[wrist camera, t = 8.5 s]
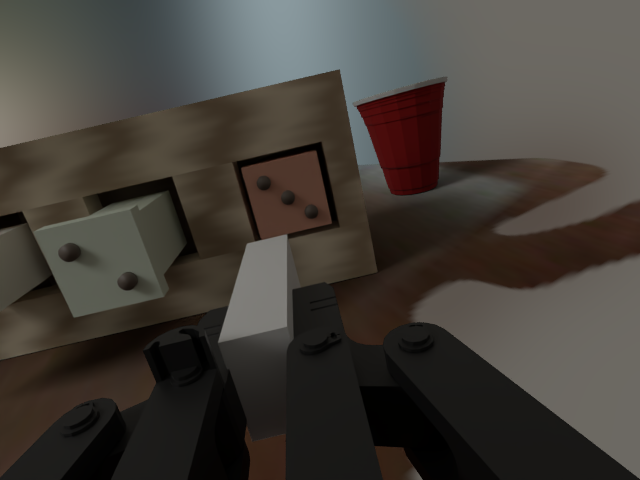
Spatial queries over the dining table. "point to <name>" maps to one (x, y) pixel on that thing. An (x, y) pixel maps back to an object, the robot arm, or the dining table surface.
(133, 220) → the button
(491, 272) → the dining table surface
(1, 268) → the button
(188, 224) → the console
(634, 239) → the dining table surface
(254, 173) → the button
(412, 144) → the plastic cup
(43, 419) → the dining table surface
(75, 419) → the robot arm
